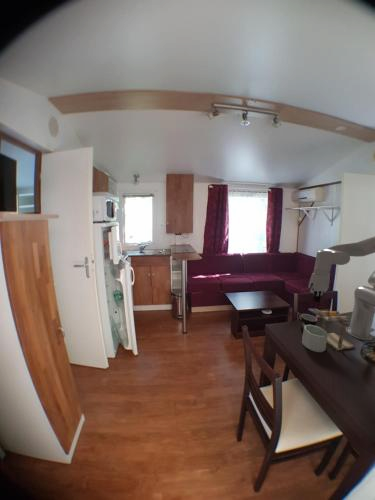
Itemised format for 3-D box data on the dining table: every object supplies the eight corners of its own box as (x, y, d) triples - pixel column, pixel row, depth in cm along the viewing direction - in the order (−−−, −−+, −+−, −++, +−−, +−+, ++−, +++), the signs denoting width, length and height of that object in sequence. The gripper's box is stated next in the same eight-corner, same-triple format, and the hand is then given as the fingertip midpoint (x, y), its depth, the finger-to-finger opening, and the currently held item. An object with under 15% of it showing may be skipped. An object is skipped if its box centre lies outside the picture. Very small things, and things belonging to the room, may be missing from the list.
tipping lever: (328, 315, 118) (331, 306, 117) (351, 328, 104) (354, 318, 103) (306, 315, 114) (309, 306, 113) (327, 329, 100) (330, 318, 99)
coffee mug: (317, 336, 114) (320, 322, 112) (302, 334, 116) (304, 320, 114) (309, 326, 126) (311, 312, 124) (295, 324, 127) (297, 310, 125)
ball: (331, 315, 108) (333, 310, 107) (337, 319, 104) (339, 313, 104) (327, 315, 107) (328, 310, 106) (332, 319, 104) (334, 313, 103)
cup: (312, 338, 113) (315, 323, 111) (329, 350, 103) (332, 335, 101) (297, 340, 111) (299, 325, 109) (313, 353, 100) (316, 337, 98)
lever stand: (332, 333, 118) (337, 309, 115) (355, 348, 105) (361, 321, 102) (317, 336, 115) (321, 311, 112) (338, 351, 102) (343, 323, 99)
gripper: (326, 269, 112) (320, 297, 115) (305, 270, 109) (300, 299, 112) (338, 273, 105) (332, 303, 108) (316, 274, 102) (311, 305, 105)
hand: (316, 301), depth 110 cm, fingers closed
